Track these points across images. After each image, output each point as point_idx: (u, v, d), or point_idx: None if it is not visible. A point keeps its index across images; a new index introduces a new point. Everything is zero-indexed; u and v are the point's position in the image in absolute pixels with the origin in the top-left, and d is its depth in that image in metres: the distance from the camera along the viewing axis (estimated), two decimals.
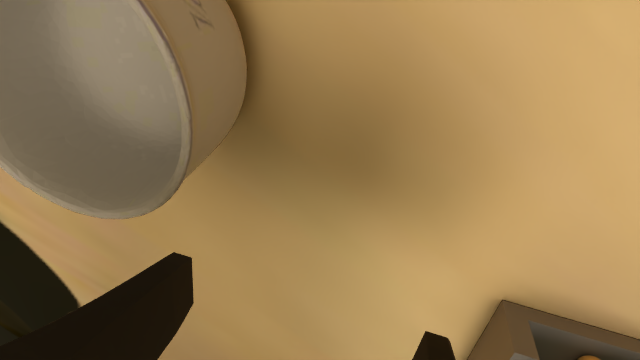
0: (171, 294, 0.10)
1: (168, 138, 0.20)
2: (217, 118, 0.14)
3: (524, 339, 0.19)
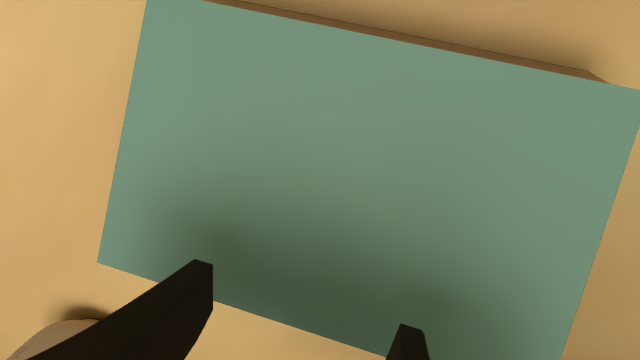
0: (193, 301, 0.10)
1: None
2: None
3: None
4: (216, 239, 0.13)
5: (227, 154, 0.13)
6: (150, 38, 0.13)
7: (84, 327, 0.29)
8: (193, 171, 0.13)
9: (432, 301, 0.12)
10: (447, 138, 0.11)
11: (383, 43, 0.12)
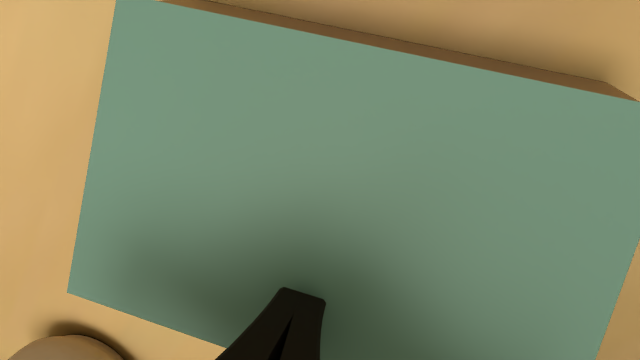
0: None
1: None
2: None
3: None
4: (195, 270, 0.12)
5: (206, 177, 0.11)
6: (120, 47, 0.11)
7: (68, 344, 0.28)
8: (170, 195, 0.12)
9: (433, 342, 0.11)
10: (451, 161, 0.10)
11: (379, 54, 0.10)
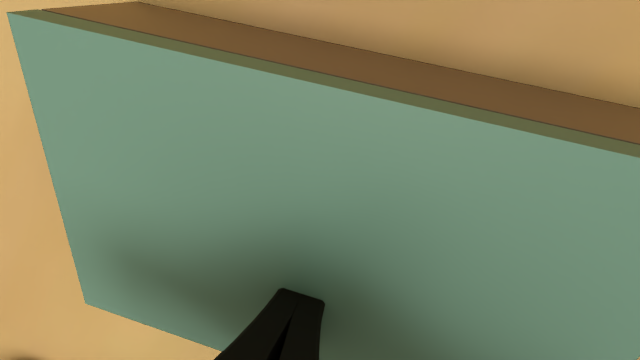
0: None
1: None
2: None
3: None
4: (190, 299, 0.12)
5: (177, 225, 0.10)
6: (38, 84, 0.09)
7: None
8: (146, 238, 0.11)
9: None
10: (450, 230, 0.08)
11: (355, 102, 0.07)
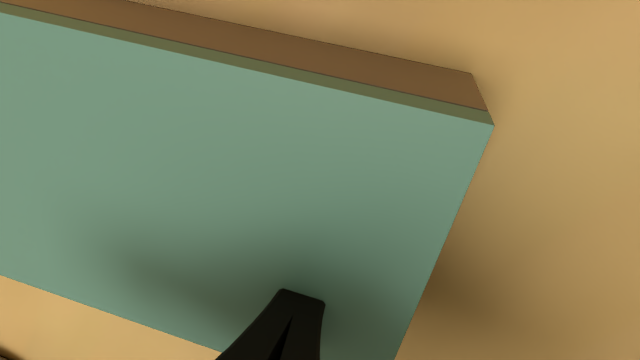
0: None
1: None
2: None
3: None
4: (56, 256, 0.13)
5: (26, 180, 0.11)
6: None
7: None
8: (4, 195, 0.12)
9: None
10: (240, 174, 0.09)
11: (131, 51, 0.08)
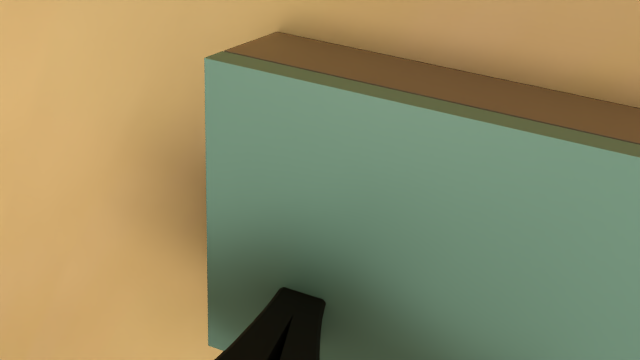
0: None
1: None
2: None
3: None
4: (337, 347, 0.11)
5: (347, 276, 0.10)
6: (221, 131, 0.09)
7: None
8: (305, 286, 0.10)
9: None
10: None
11: (620, 164, 0.07)
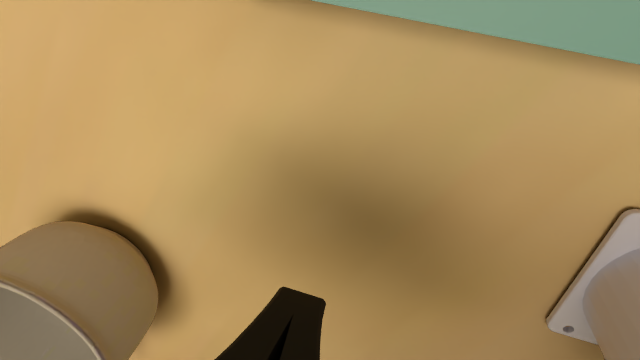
0: None
1: None
2: (43, 258, 0.20)
3: None
4: None
5: None
6: None
7: (81, 226, 0.23)
8: None
9: None
10: None
11: None
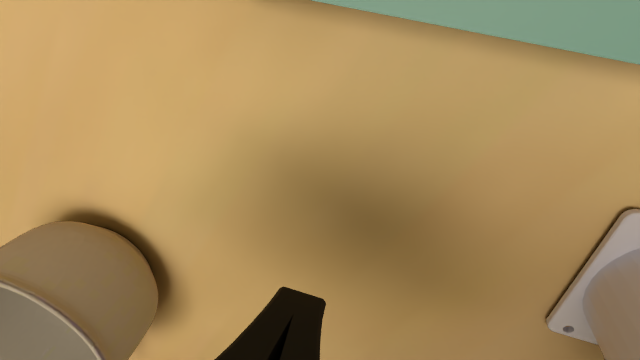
0: None
1: None
2: (43, 258, 0.20)
3: None
4: None
5: None
6: None
7: (81, 226, 0.23)
8: None
9: None
10: None
11: None
